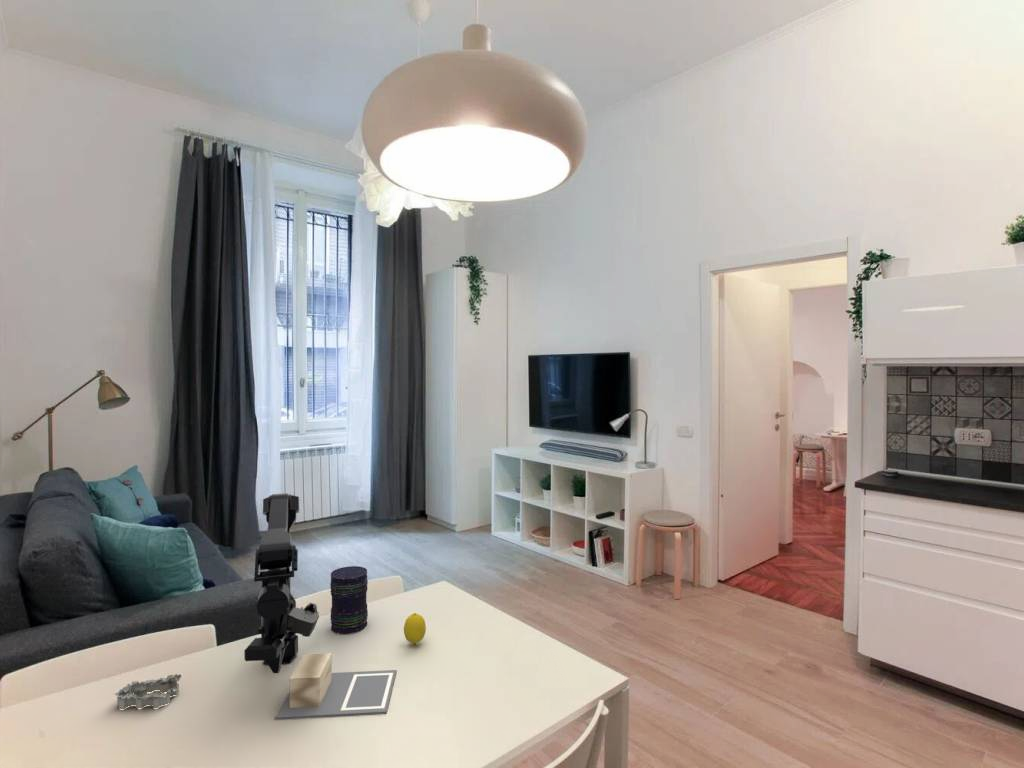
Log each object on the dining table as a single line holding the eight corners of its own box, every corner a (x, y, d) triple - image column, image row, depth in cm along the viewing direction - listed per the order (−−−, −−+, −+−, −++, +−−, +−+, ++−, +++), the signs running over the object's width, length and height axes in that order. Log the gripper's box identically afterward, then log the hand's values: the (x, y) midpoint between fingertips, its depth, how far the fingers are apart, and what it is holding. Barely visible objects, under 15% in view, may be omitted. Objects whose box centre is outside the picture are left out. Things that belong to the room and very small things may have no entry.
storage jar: (334, 619, 155) (334, 566, 154) (370, 617, 156) (370, 565, 156) (326, 635, 145) (326, 579, 145) (364, 633, 146) (364, 577, 146)
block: (289, 707, 112) (289, 678, 112) (304, 681, 122) (304, 654, 122) (319, 706, 112) (319, 677, 112) (331, 679, 122) (331, 653, 122)
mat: (274, 719, 109) (274, 717, 109) (299, 676, 125) (299, 674, 125) (386, 713, 111) (386, 711, 111) (396, 671, 127) (396, 669, 127)
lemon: (421, 650, 136) (421, 618, 136) (400, 648, 138) (400, 616, 138) (428, 640, 142) (428, 609, 142) (408, 638, 143) (408, 607, 143)
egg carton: (184, 692, 119) (184, 673, 119) (161, 712, 112) (161, 692, 112) (136, 691, 119) (136, 672, 119) (110, 712, 112) (110, 692, 112)
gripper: (301, 617, 108) (301, 695, 108) (326, 582, 126) (326, 649, 126) (242, 619, 107) (243, 698, 107) (276, 584, 125) (276, 651, 126)
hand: (276, 672), depth 116 cm, fingers closed
